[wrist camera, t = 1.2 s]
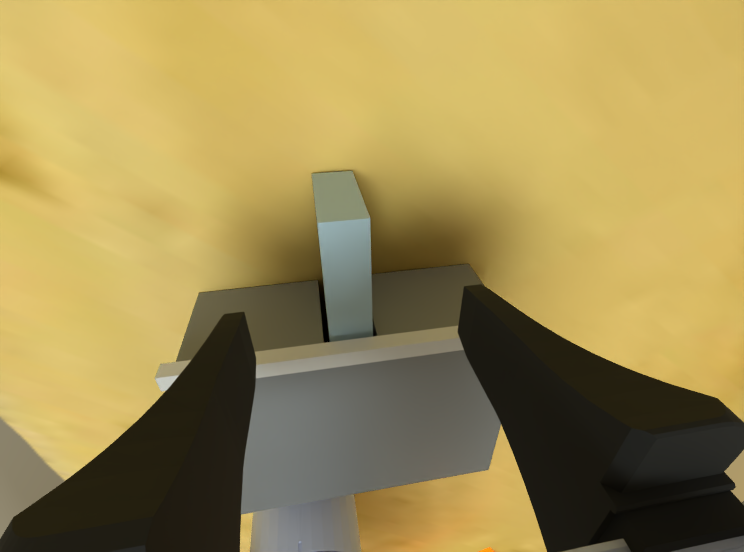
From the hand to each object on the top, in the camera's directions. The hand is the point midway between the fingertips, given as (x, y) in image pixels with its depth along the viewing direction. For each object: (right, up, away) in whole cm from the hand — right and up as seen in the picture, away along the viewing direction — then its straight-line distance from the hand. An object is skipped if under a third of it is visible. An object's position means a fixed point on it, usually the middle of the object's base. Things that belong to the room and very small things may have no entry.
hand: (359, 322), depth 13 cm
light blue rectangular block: (-1, +1, +10) cm, 10 cm away
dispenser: (-1, -3, +13) cm, 14 cm away
